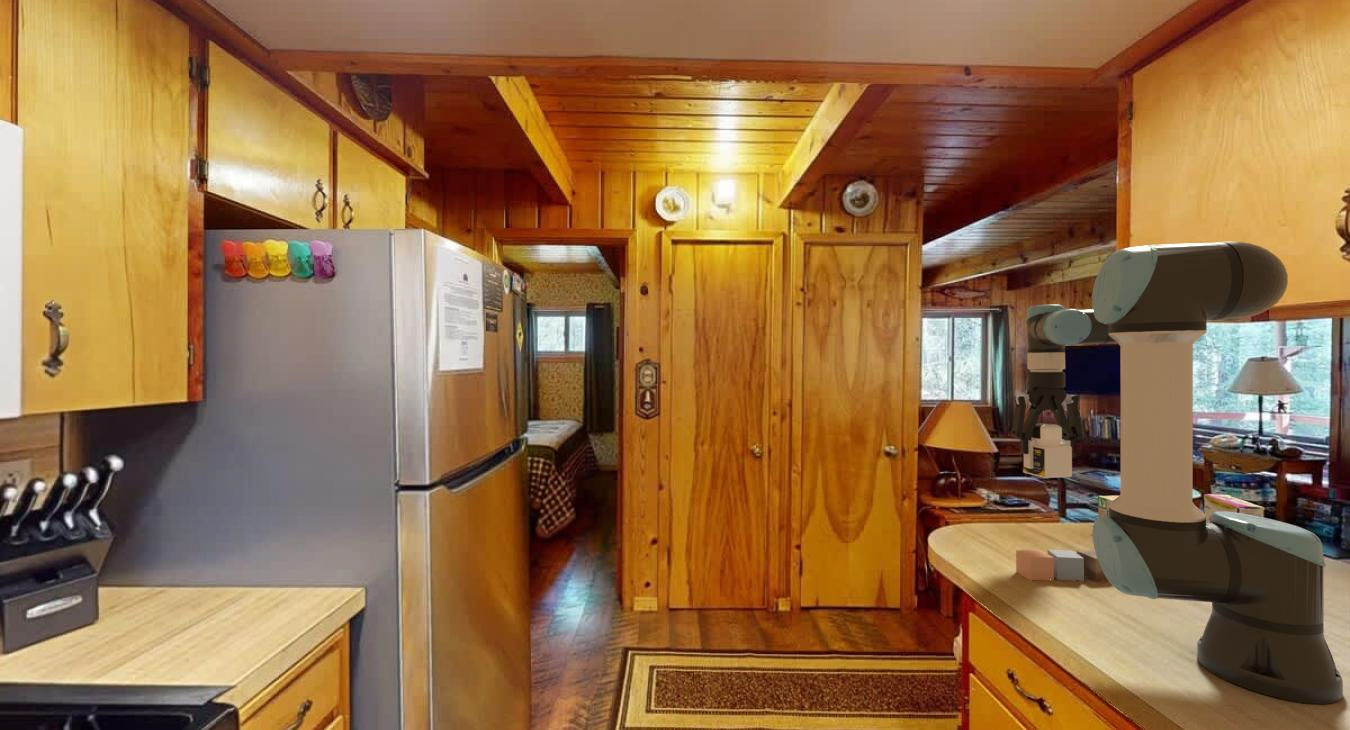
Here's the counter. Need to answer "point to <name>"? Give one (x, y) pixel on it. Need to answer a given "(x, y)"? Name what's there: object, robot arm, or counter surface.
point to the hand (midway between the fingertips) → (1046, 467)
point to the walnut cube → (1092, 565)
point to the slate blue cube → (1067, 565)
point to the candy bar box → (1229, 506)
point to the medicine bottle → (1049, 453)
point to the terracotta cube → (1035, 564)
